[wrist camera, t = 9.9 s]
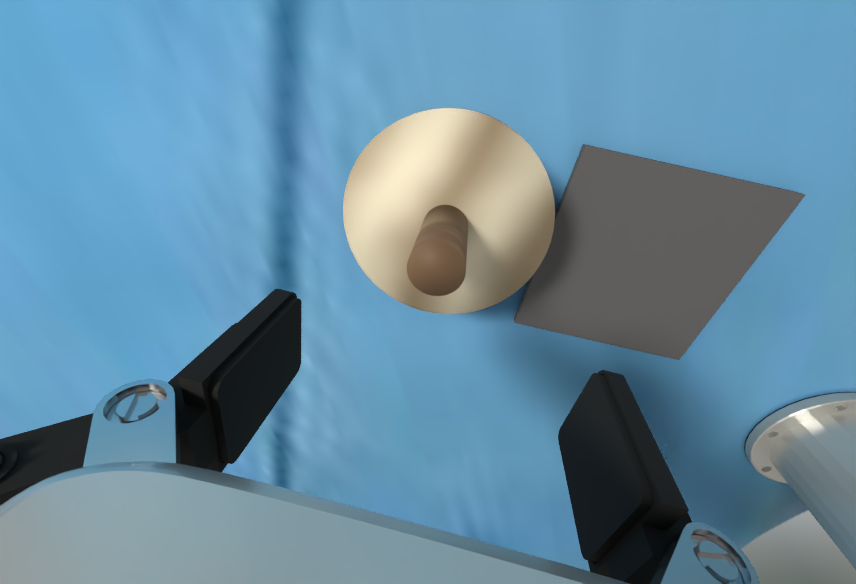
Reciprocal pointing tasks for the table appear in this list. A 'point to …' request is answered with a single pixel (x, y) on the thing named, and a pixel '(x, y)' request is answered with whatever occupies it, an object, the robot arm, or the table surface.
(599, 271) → the mat
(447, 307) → the lid
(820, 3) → the table surface
